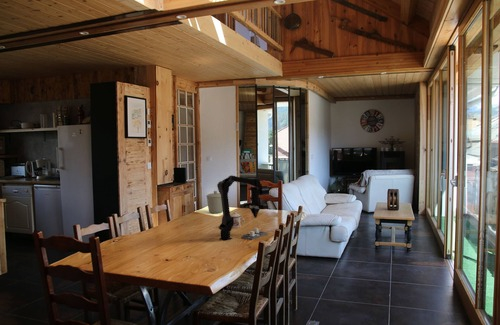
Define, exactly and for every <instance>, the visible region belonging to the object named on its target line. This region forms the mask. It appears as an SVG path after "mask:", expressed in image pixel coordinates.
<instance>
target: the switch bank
mask: <svg viewBox="0 0 500 325" xmlns="http://www.w3.org/2000/svg"><path fill="white" fill-rule="evenodd" d="M249 235H250V233H244V234H242V236H241V239H244V240H249V241H254V240H256V239H258V238H262V237H264V236H267V235H268V232H267V231H260V230H259V233H256V232H255V236H249Z"/></svg>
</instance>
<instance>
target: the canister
mask: <svg viewBox="0 0 500 325" xmlns="http://www.w3.org/2000/svg"><path fill="white" fill-rule="evenodd" d="M205 197H206V199H207V200H206V201H207V208H208V212H209V213H210V214H215V215H216V214H221V213H222V214H223V209H222V201H221V194H220V192H219V193H218V190H214V191H213V193H208V194H207V195H206V196H205Z"/></svg>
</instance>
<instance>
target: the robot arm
mask: <svg viewBox="0 0 500 325" xmlns="http://www.w3.org/2000/svg"><path fill="white" fill-rule="evenodd" d="M235 182H236V183H242V184H246V185H249V186H250V187H249V188H248V191H250V197H249V199H250V202H244V203H243V205H242V207H243V208H247V207H249V208H248V209H249V211H251V213H252V216H253V217H254V219H257V217H258V214H259V211H260V210H266V209H269V206H268V204H266V203H265V200H264V199H261V197H260V196H268V195H269V194H270V189H269V188H268V185H262V183H261V180H260V179H259V178H254V177H251V178H245V177H241V176H235V175H233V174H232V175H229V176H228V177H226V178H224V179H222V180H221V181H219V182H217V185H216V186H217V191H218V192H219V193H220V194H221V201H222V209H223V212H222V218H221V223H220V224H219V226H218V229H219V230H220V238H219V240H220V241H229V240H232V239H233V238H232V237H231V231H232V229H233V228H232V227H233V224H234V218H233V217H231V216H230V215H231V212H230V202H229V191H230V187H231V186H232V185H233V184H234V183H235Z"/></svg>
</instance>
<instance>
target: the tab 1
mask: <svg viewBox="0 0 500 325" xmlns="http://www.w3.org/2000/svg"><path fill="white" fill-rule="evenodd" d="M249 234H250V235H249V236H255V232H254V230H251V231H250V232H249Z"/></svg>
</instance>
